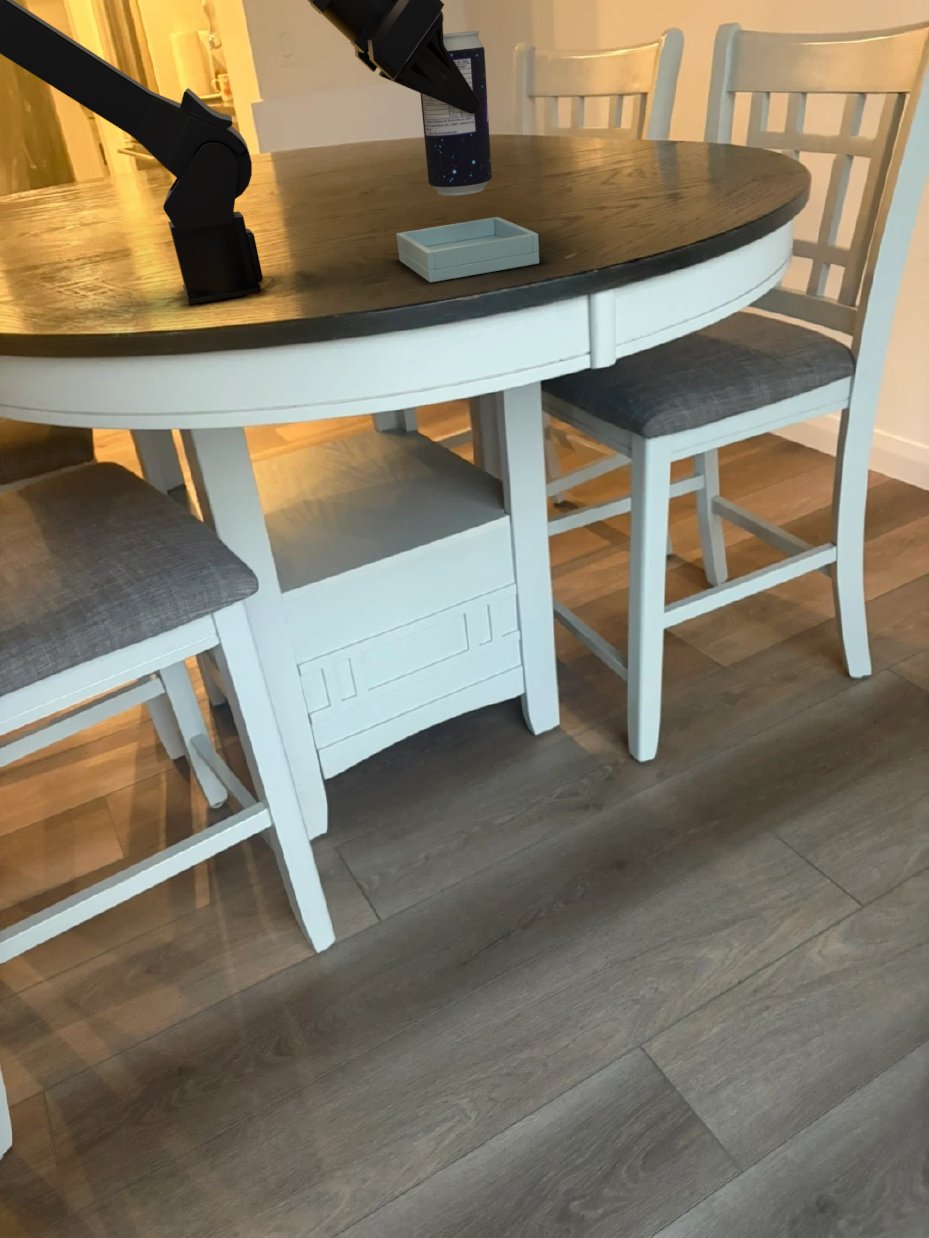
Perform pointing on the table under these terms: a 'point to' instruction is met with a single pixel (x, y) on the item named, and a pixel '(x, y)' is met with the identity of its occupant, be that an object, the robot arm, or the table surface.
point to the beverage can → (459, 126)
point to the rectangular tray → (467, 248)
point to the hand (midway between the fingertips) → (470, 107)
